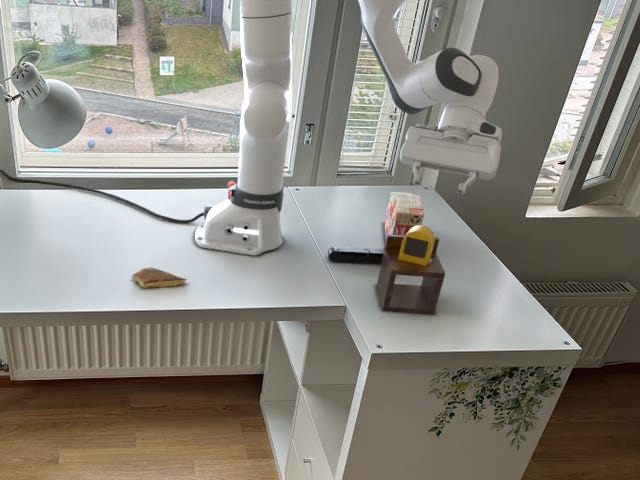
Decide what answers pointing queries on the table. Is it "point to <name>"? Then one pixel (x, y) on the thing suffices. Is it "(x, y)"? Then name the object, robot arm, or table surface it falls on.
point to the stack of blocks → (403, 213)
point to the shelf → (408, 295)
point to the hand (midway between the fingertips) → (438, 188)
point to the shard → (156, 278)
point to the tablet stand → (355, 255)
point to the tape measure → (418, 245)
